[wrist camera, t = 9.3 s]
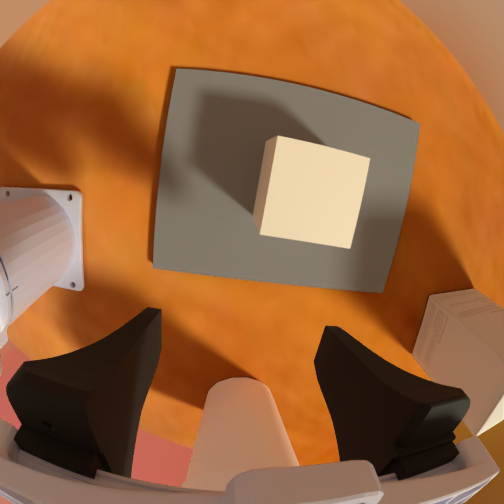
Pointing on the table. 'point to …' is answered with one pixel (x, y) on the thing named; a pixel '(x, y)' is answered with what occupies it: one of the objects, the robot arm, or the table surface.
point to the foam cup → (237, 435)
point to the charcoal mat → (248, 172)
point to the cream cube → (309, 192)
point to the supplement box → (466, 352)
